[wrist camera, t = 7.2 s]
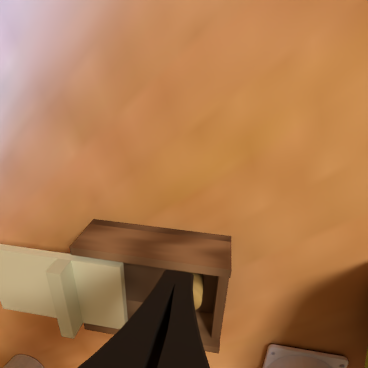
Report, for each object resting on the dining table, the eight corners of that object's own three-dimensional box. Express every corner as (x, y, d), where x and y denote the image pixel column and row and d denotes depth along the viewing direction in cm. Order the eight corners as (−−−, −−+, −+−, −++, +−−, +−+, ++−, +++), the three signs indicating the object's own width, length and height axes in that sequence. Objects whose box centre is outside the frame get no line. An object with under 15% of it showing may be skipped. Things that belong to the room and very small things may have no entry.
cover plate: (123, 261, 22) (111, 282, 20) (128, 323, 25) (118, 347, 23) (-13, 241, 23) (-37, 259, 21) (8, 302, 27) (-11, 322, 24)
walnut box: (231, 236, 23) (231, 269, 20) (220, 313, 28) (218, 353, 24) (93, 219, 25) (69, 247, 21) (103, 294, 29) (84, 329, 26)
